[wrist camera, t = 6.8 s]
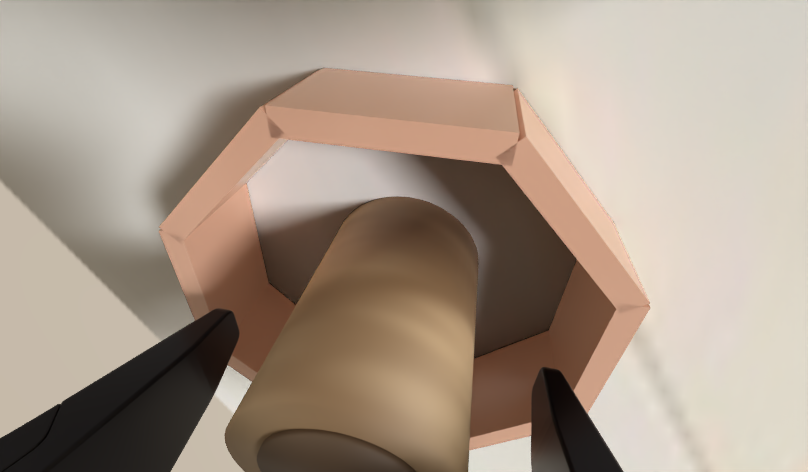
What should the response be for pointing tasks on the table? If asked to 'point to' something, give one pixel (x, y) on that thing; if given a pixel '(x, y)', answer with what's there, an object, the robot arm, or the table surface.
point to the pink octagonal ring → (430, 136)
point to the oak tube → (371, 353)
